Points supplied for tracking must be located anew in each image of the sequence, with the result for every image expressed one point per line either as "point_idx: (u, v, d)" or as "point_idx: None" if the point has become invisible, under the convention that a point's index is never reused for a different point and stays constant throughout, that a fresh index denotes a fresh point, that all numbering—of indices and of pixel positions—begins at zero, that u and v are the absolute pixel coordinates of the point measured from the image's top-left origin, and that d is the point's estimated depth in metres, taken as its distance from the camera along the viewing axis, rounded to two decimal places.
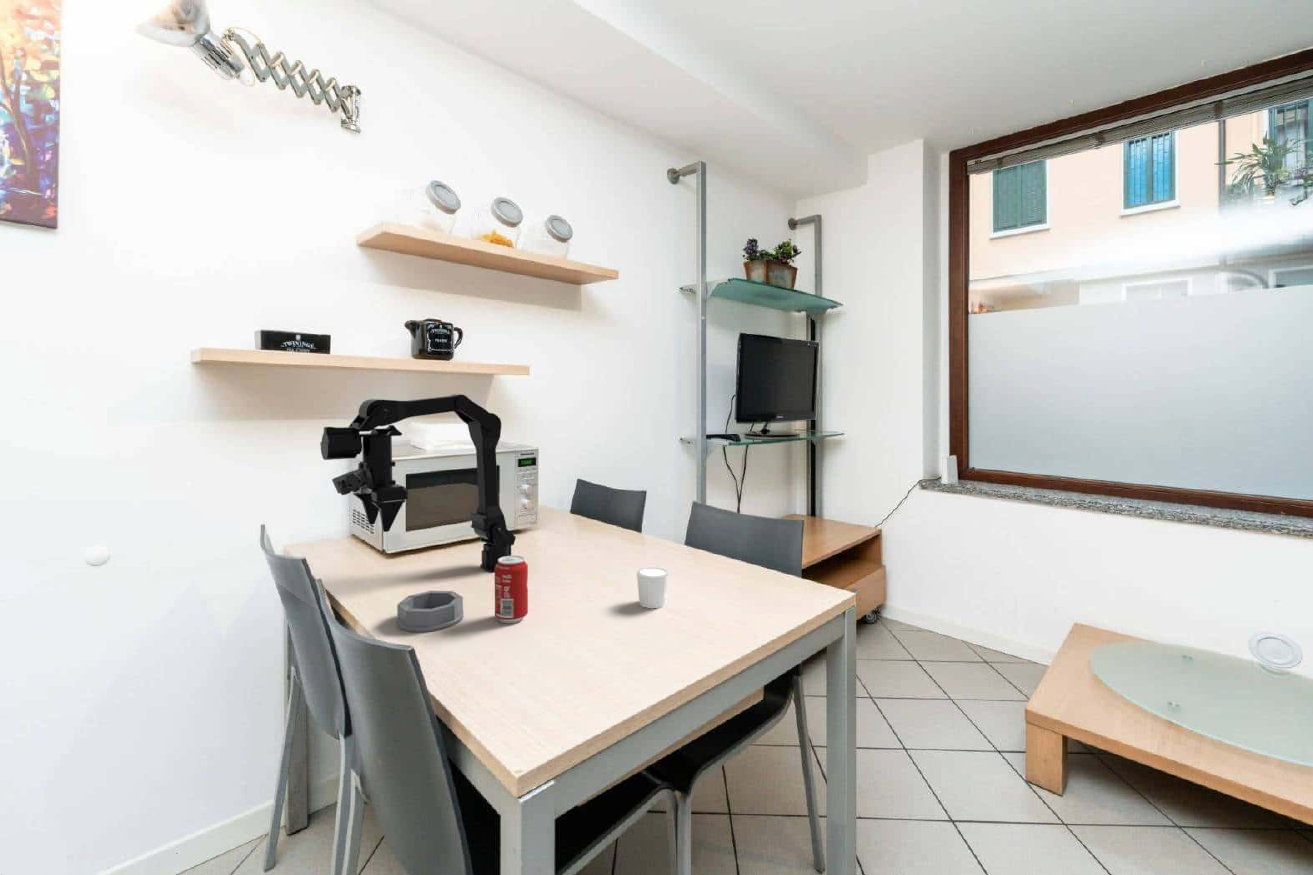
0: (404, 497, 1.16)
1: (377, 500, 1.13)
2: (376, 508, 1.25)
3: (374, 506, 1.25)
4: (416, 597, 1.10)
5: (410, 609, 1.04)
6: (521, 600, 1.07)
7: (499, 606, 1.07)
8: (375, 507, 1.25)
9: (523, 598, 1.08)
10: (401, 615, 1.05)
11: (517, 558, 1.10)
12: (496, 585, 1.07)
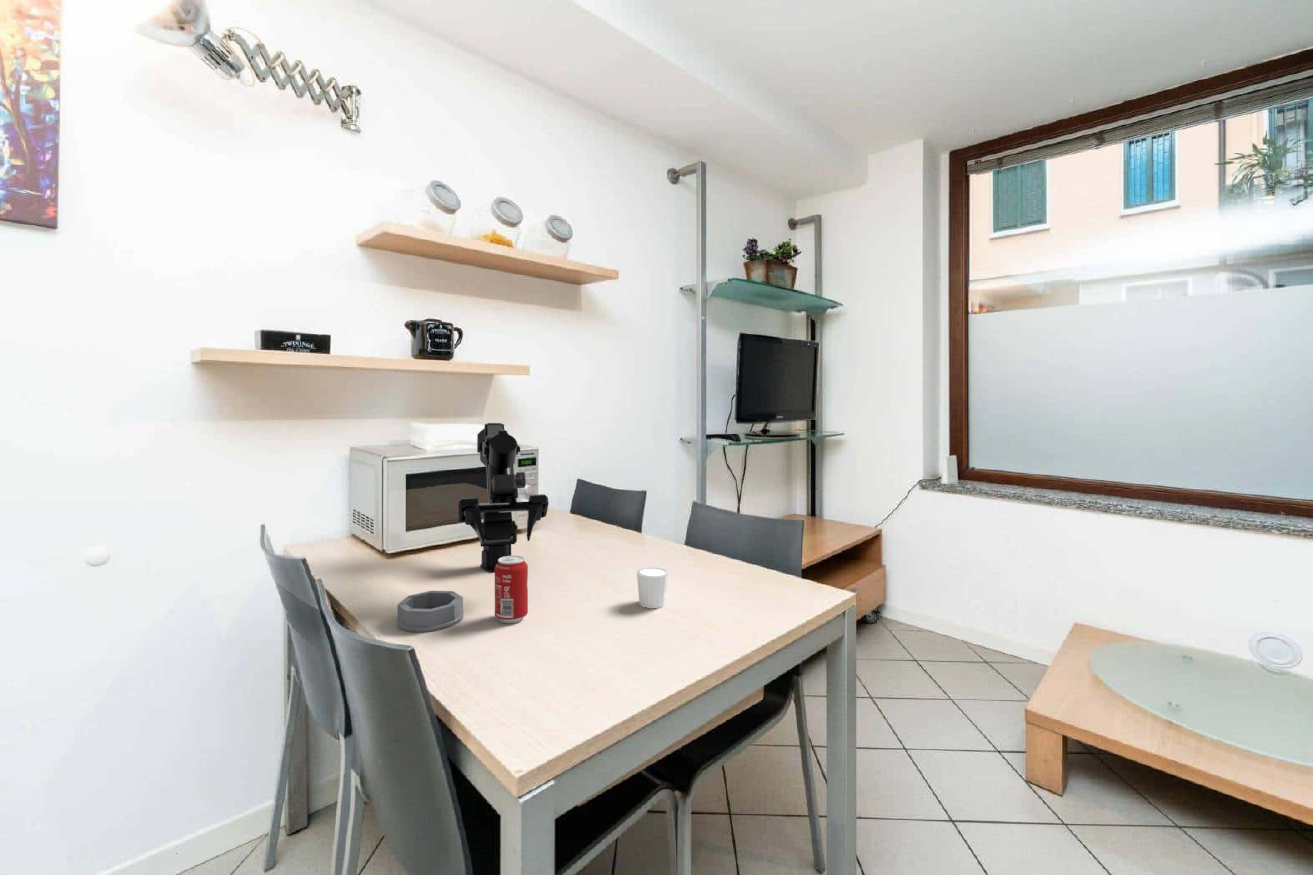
0: None
1: (546, 501, 1.22)
2: None
3: None
4: (416, 597, 1.10)
5: (410, 609, 1.04)
6: (521, 600, 1.07)
7: (499, 606, 1.07)
8: None
9: (523, 598, 1.08)
10: (401, 615, 1.05)
11: (517, 558, 1.10)
12: (496, 585, 1.07)
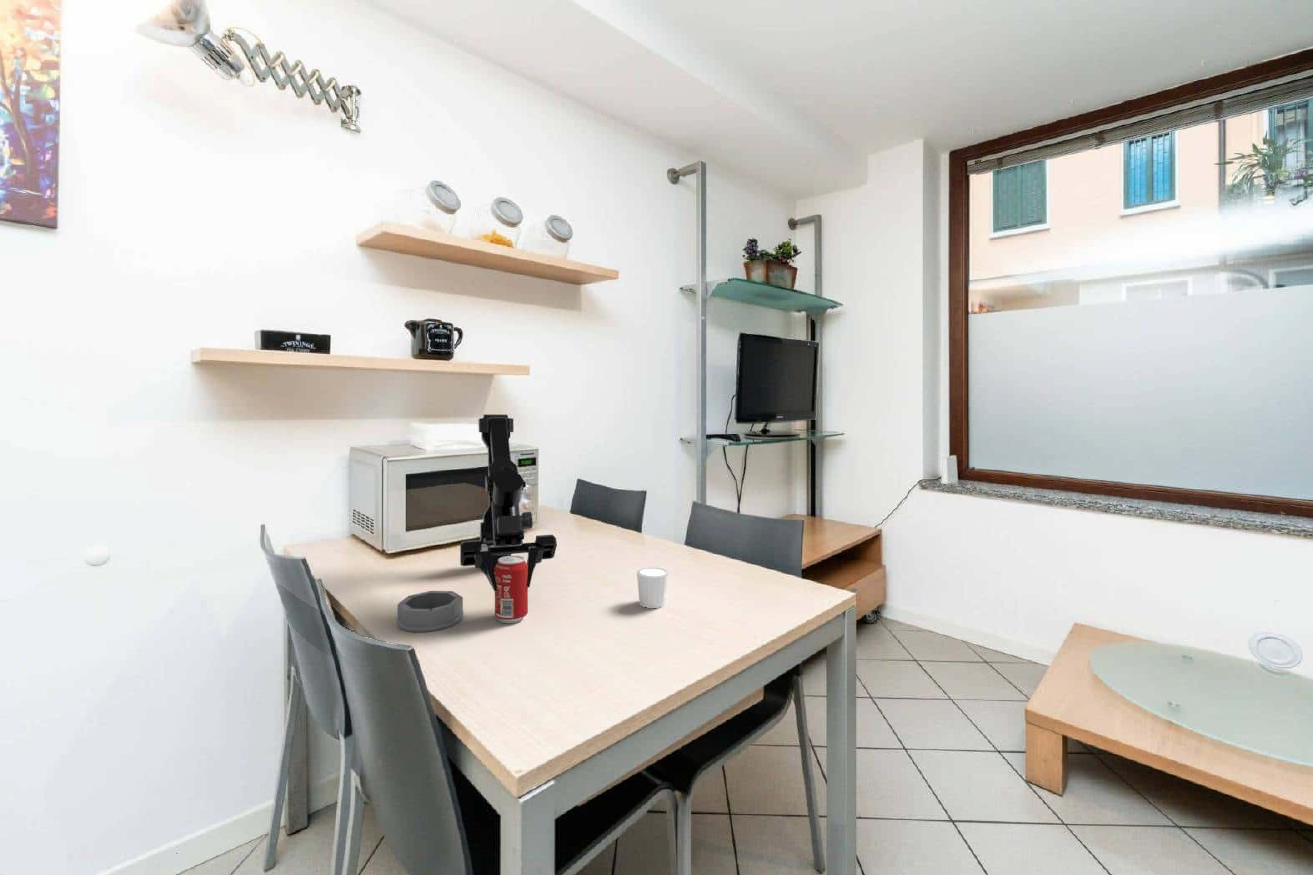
0: None
1: (554, 542, 1.13)
2: None
3: None
4: (416, 597, 1.10)
5: (410, 609, 1.04)
6: (521, 600, 1.07)
7: (499, 606, 1.07)
8: None
9: (523, 597, 1.08)
10: (401, 615, 1.05)
11: (517, 558, 1.10)
12: (496, 585, 1.07)
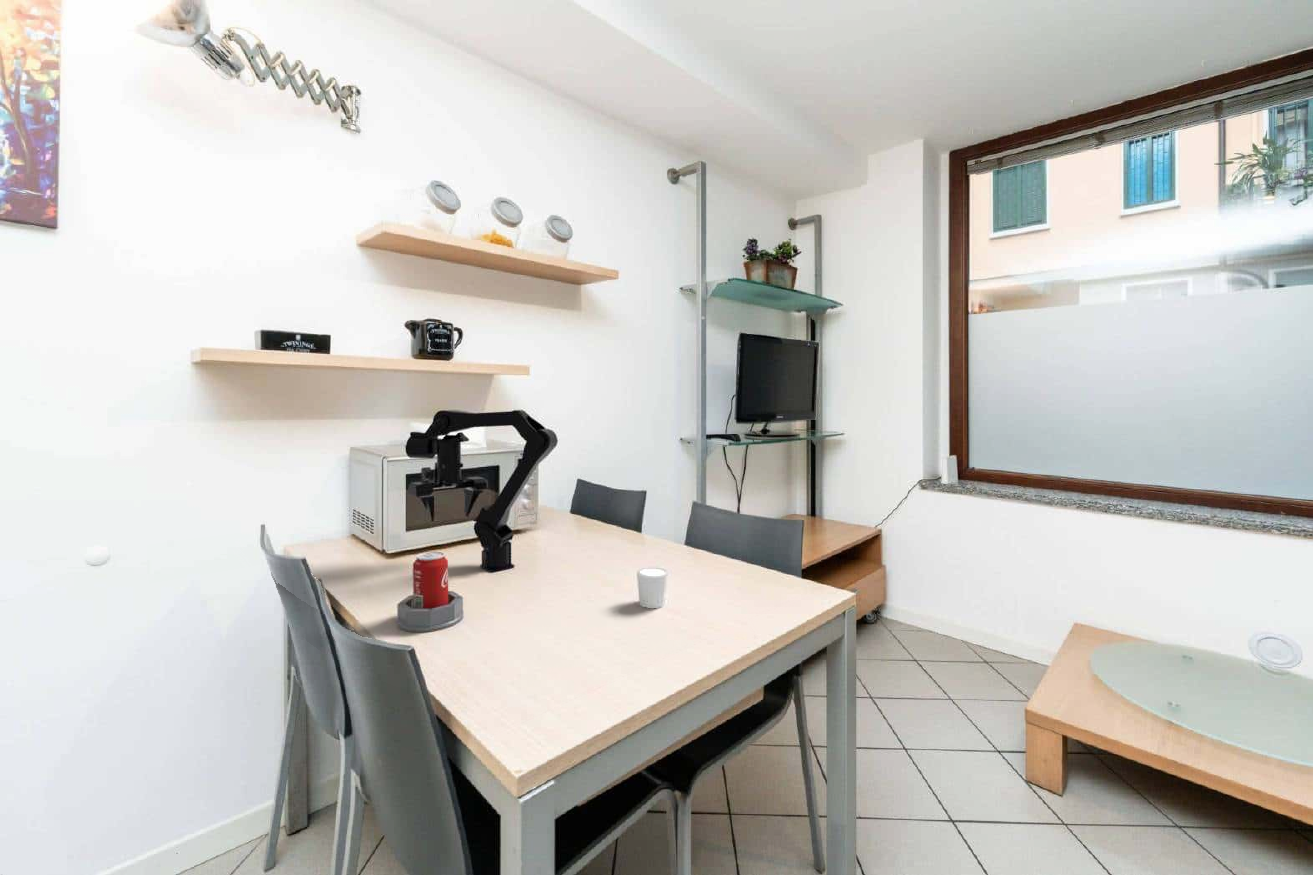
0: (415, 494, 1.34)
1: None
2: (468, 504, 1.45)
3: (468, 502, 1.45)
4: None
5: (410, 609, 1.04)
6: (432, 598, 1.05)
7: None
8: (468, 503, 1.45)
9: (435, 596, 1.06)
10: (401, 615, 1.05)
11: (438, 555, 1.08)
12: None
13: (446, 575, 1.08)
